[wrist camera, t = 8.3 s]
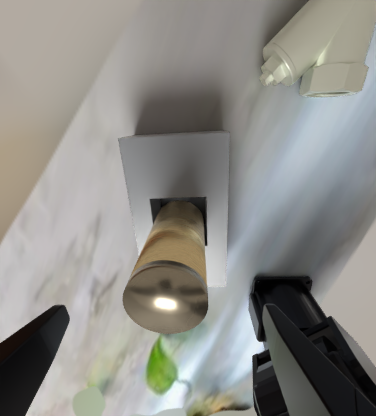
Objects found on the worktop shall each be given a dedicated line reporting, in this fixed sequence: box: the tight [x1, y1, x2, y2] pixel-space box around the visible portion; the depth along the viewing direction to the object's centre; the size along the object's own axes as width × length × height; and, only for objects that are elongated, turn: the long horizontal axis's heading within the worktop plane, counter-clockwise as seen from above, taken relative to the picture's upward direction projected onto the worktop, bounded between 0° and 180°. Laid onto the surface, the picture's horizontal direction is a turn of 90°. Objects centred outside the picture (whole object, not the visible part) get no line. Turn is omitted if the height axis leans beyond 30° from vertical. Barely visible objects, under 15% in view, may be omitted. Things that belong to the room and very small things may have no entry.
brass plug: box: [123, 200, 208, 334], centre depth 13 cm, size 4×4×8 cm
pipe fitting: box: [259, 0, 376, 97], centre depth 14 cm, size 8×4×7 cm
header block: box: [118, 130, 230, 287], centre depth 19 cm, size 8×14×4 cm, turn 3°
